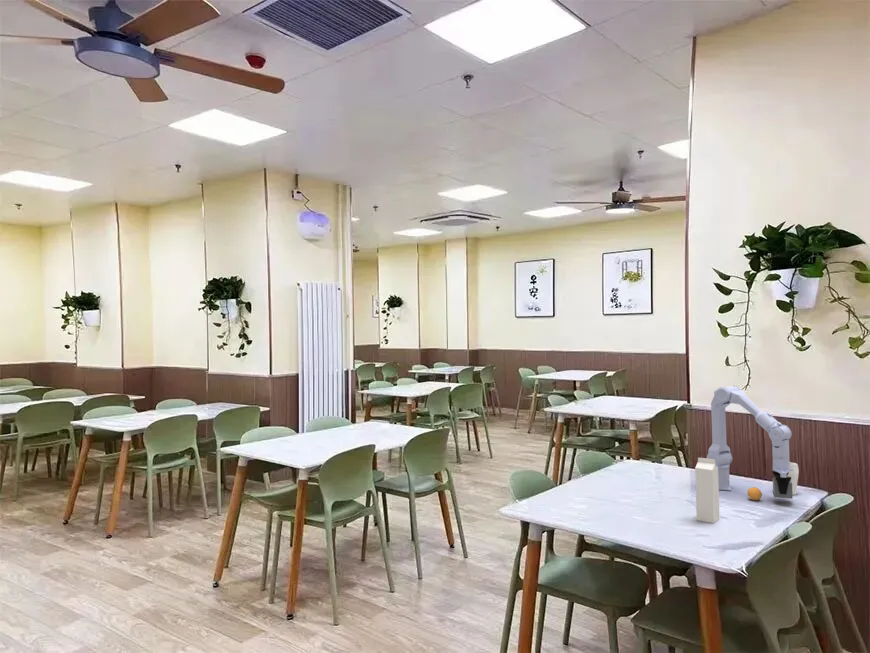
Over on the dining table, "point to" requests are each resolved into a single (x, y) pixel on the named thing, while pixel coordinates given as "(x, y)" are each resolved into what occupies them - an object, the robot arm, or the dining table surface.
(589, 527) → the dining table surface
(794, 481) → the cup
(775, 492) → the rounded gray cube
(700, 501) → the milk
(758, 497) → the ball
